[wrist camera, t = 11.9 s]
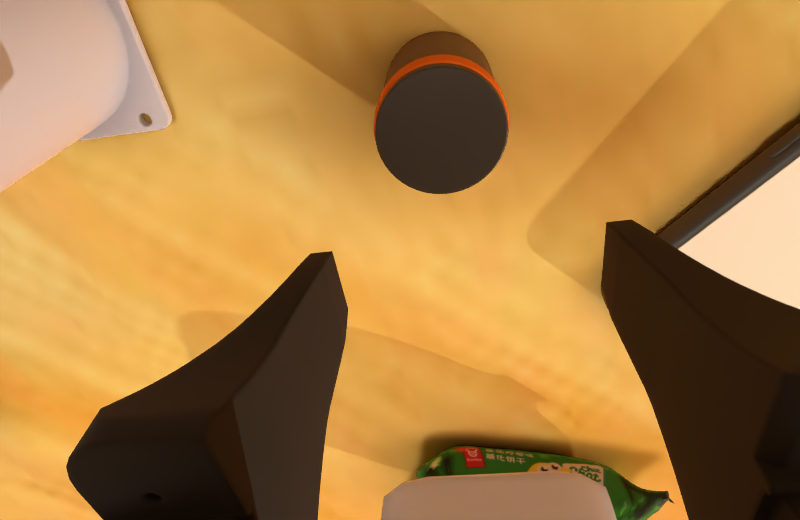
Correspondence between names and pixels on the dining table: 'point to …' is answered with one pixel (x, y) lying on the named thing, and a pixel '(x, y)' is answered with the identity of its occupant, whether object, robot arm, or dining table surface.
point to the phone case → (751, 224)
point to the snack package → (471, 460)
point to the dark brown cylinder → (440, 115)
